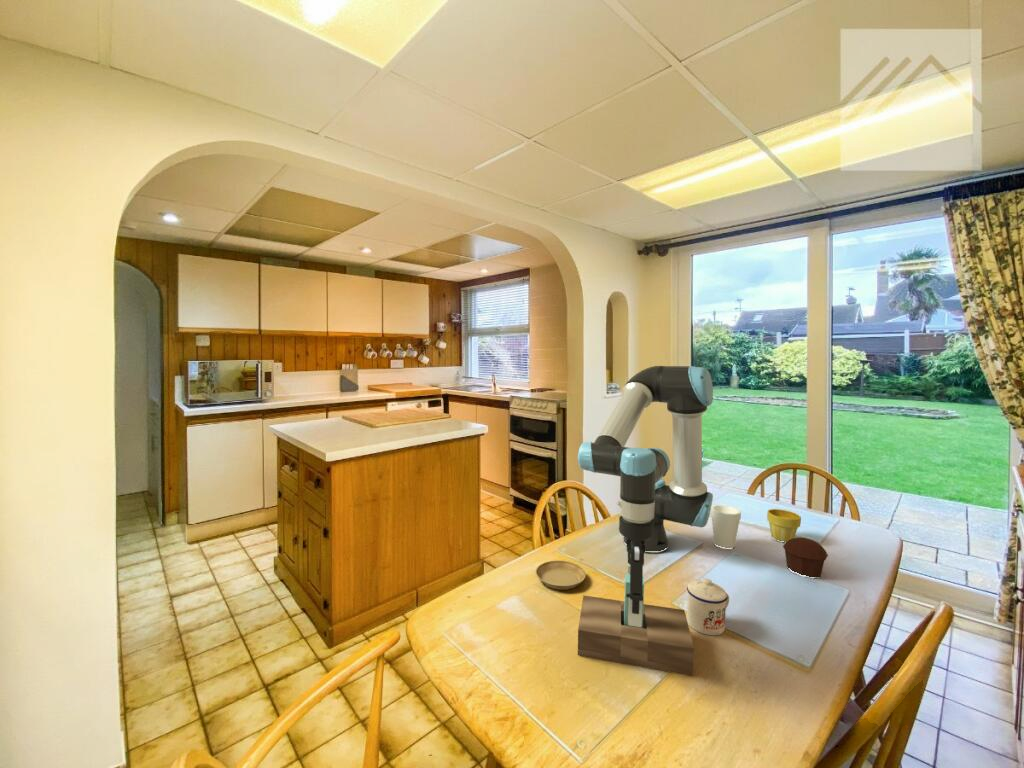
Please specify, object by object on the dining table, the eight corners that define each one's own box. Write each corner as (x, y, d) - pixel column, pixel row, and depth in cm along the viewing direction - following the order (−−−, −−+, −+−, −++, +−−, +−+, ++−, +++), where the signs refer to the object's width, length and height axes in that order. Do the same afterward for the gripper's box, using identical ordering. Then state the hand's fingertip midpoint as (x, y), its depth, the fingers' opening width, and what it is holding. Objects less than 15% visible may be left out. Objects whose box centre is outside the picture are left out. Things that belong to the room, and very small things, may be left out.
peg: (623, 630, 101) (625, 573, 100) (641, 633, 100) (643, 575, 99) (623, 641, 97) (625, 582, 96) (642, 644, 97) (644, 584, 96)
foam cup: (703, 541, 154) (705, 506, 153) (724, 538, 157) (725, 503, 156) (724, 553, 145) (725, 516, 144) (745, 549, 148) (747, 513, 147)
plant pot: (799, 537, 158) (800, 512, 157) (800, 548, 149) (801, 521, 149) (766, 531, 163) (767, 506, 163) (765, 541, 155) (767, 515, 154)
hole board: (582, 618, 109) (583, 595, 108) (683, 633, 103) (684, 609, 102) (577, 655, 95) (578, 629, 95) (693, 676, 89) (694, 648, 89)
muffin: (813, 563, 139) (815, 533, 138) (835, 581, 128) (837, 549, 127) (774, 561, 140) (776, 531, 139) (793, 579, 129) (795, 547, 128)
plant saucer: (545, 597, 118) (545, 588, 118) (529, 571, 132) (529, 563, 132) (594, 590, 122) (594, 581, 122) (573, 565, 136) (573, 557, 136)
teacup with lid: (706, 640, 100) (708, 593, 100) (677, 618, 109) (679, 574, 108) (742, 628, 105) (745, 582, 104) (712, 608, 114) (714, 565, 113)
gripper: (619, 497, 110) (617, 577, 111) (619, 538, 86) (616, 639, 87) (649, 500, 108) (647, 581, 110) (658, 542, 84) (655, 645, 85)
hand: (633, 607), depth 98 cm, fingers open, 13 cm apart
